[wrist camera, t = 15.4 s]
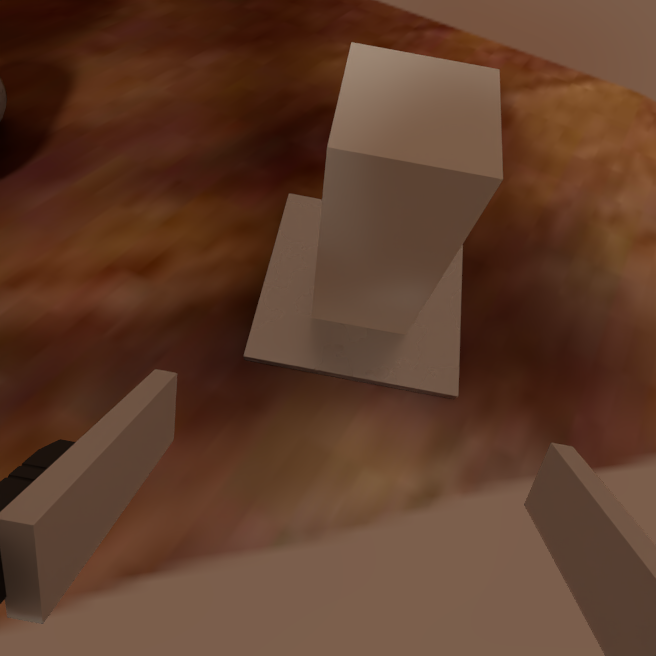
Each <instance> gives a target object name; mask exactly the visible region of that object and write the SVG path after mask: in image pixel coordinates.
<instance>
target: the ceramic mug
mask: <svg viewBox="0 0 656 656" xmlns="http://www.w3.org/2000/svg"><path fill="white" fill-rule="evenodd" d="M6 103H7V95H6V89H5V86H4V83H3V81H2V79H1V77H0V121H1V120H2V118H3V115H4V112H5V109H6Z"/></svg>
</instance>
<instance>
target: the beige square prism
mask: <svg viewBox="0 0 656 656" xmlns="http://www.w3.org/2000/svg"><path fill="white" fill-rule="evenodd" d="M502 180H503V161H502V132H501V103H500V75H499V69H494V68H489V67H483V66H478V65H472V64H467V63H462V62H456V61H451V60H445V59H440V58H434V57H429V56H423V55H418V54H413V53H407V52H402V51H396V50H391V49H385V48H380V47H375V46H369V45H364V44H358V43H353V42H351V46H350V51H349V55H348V59H347V64H346V68H345V72H344V77H343V81H342V85H341V90H340V94H339V98H338V103H337V107H336V111H335V115H334V120H333V124H332V128H331V133H330V137H329V141H328V146H327V154H326V165H325V176H324V186H323V197H322V208H321V218H320V229H319V240H318V250H317V261H316V272H315V282H314V293H313V304H312V314H311V318H316V319H321V320H327V321H332V322H338V323H343V324H349V325H354V326H360V327H365V328H370V329H376V330H381V331H387V332H392V333H398V334H403V335H406V334H407V332H408V331H409V329H410V328H411V326H412V324H413V323H414V321H415V320H416V318H417V316H418V315H419V313H420V312H421V310H422V308H423V307H424V305H425V304H426V302H427V300H428V299H429V297H430V296H431V294H432V292H433V291H434V289H435V288H436V286H437V284H438V283H439V281H440V280H441V278H442V276H443V275H444V273H445V272H446V270H447V268H448V267H449V265H450V264H451V262H452V260H453V259H454V257H455V256H456V254H457V252H458V251H459V249H460V248H461V246H462V244H463V243H464V241H465V240H466V238H467V236H468V235H469V233H470V232H471V230H472V228H473V227H474V225H475V224H476V222H477V220H478V219H479V217H480V216H481V214H482V212H483V211H484V209H485V208H486V206H487V204H488V203H489V201H490V200H491V198H492V196H493V195H494V193H495V192H496V190H497V188H498V187H499V185H500V184H501V182H502Z"/></svg>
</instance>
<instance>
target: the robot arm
mask: <svg viewBox="0 0 656 656" xmlns="http://www.w3.org/2000/svg"><path fill="white" fill-rule="evenodd" d="M176 387H177V373H174V372H168V371H163V370H158V369H155V370H154V371H153V372H152V373H151V374H150V375H148V376H147V377H146V378H145V379H144V380H143V381H142V382H141V383H140V384H139V385H138V386H136V387H135V388H134V389H133V390H132V391H131V392H130V393H129V394H128V395H127V396H126V397H125V398H123V399H122V400H121V401H120V402H119V403H118V404H117V405H116V406H115V407H114V408H113V409H112V410H110V411H109V412H108V413H107V414H106V415H105V416H104V417H103V418H102V419H101V420H100V421H99V422H97V423H96V424H95V425H94V426H93V427H92V428H91V429H90V430H89V431H88V432H87V433H85V434H84V435H83V436H82V437H81V438H80V439H79V440H78V441H77V442H71V441H66V440H58V441H56V442H54V443H52V444H50V445H47V446H45V447H43V448H41V449H39V450H38V451H37V452H35V453H34V454H33V455H32V456H31V457H29V458H28V459H27V460H26V461H25V462H23V463H22V466H19V467H17V468H16V469H15V470H14V471H13V472H11V473H10V474H9V476H8V478H4V479H3V480H2V481H1V482H0V604H1V603H2V601H3V600H4V599H5V603H6V610H7V617H8V618H13V619H19V620H24V621H30V622H35V623H41V624H43V623H44V622H45V620H46V619H47V617H48V616H49V615H50V613H51V612H52V610H53V609H54V608H55V606H56V605H57V603H58V602H59V600H60V599H61V598H62V596H63V595H64V593H65V592H66V591H67V589H68V588H69V586H70V585H71V584H72V582H73V581H74V579H75V578H76V577H77V575H78V574H79V572H80V571H81V570H82V568H83V567H84V565H85V564H86V562H87V561H88V560H89V558H90V557H91V555H92V554H93V553H94V551H95V550H96V548H97V547H98V546H99V544H100V543H101V541H102V540H103V539H104V537H105V536H106V534H107V533H108V531H109V530H110V529H111V527H112V526H113V524H114V523H115V522H116V520H117V519H118V517H119V516H120V515H121V513H122V512H123V510H124V509H125V508H126V506H127V505H128V503H129V502H130V501H131V499H132V498H133V496H134V495H135V493H136V492H137V491H138V489H139V488H140V486H141V485H142V484H143V482H144V481H145V479H146V478H147V477H148V475H149V474H150V472H151V471H152V470H153V468H154V467H155V465H156V464H157V463H158V461H159V460H160V458H161V457H162V455H163V454H164V453H165V451H166V450H167V448H168V447H169V446H170V444H171V443H172V441H173V440H174V424H175V406H176ZM524 505H525V507H526V509H527V511H528V513H529V515H530V516H531V518H532V520H533V522H534V524H535V526H536V528H537V529H538V531H539V533H540V535H541V537H542V539H543V541H544V542H545V544H546V546H547V548H548V550H549V552H550V554H551V556H552V558H553V559H554V561H555V563H556V565H557V567H558V569H559V571H560V572H561V574H562V576H563V578H564V580H565V582H566V583H567V586H568V587H569V589H570V591H571V593H572V595H573V597H574V599H575V600H576V602H577V604H578V606H579V608H580V610H581V611H582V614H583V615H584V617H585V619H586V621H587V623H588V625H589V627H590V628H591V630H592V632H593V634H594V636H595V638H596V639H597V641H598V643H599V645H600V647H601V649H602V651H603V653H604V655H605V656H656V545H655V544H654V542H653V541H652V540H651V539H650V538H649V537H648V535H647V534H646V533H645V532H644V531H643V529H642V528H641V527H640V526H639V525H638V524H637V522H636V521H635V520H634V519H633V517H632V516H631V515H630V514H629V513H628V512H627V510H626V509H625V508H624V507H623V506H622V504H621V503H620V502H619V501H618V500H617V498H616V497H615V496H614V495H613V494H612V493H611V492H610V490H609V489H608V488H607V487H606V485H605V484H604V483H603V482H602V481H601V479H600V478H599V477H598V476H597V475H596V474H595V472H594V471H593V470H592V469H591V468H590V466H589V465H588V464H587V463H586V462H585V460H584V459H583V458H582V457H581V456H580V455H579V453H578V452H577V451H576V450H575V449H574V447H573V446H567V445H562V444H556V443H551V444H550V446H549V448H548V451H547V453H546V455H545V457H544V460H543V462H542V464H541V467H540V469H539V471H538V474H537V476H536V478H535V481H534V483H533V485H532V488H531V490H530V492H529V495H528V497H527V499H526V502H525V504H524Z"/></svg>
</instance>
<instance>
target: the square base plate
mask: <svg viewBox="0 0 656 656" xmlns="http://www.w3.org/2000/svg"><path fill="white" fill-rule="evenodd" d="M321 208H322V199H317V198H312V197H306V196H301V195H296V194H290V193H289V195H288V198H287V202H286V206H285V209H284V213H283V216H282V220H281V224H280V227H279V231H278V234H277V238H276V241H275V245H274V249H273V252H272V256H271V259H270V263H269V266H268V270H267V274H266V277H265V281H264V284H263V288H262V291H261V295H260V299H259V302H258V306H257V309H256V313H255V316H254V320H253V324H252V327H251V331H250V334H249V338H248V341H247V345H246V349H245V352H244V360H248V361H253V362H258V363H264V364H269V365H274V366H280V367H285V368H290V369H296V370H301V371H306V372H311V373H317V374H322V375H327V376H333V377H338V378H343V379H349V380H354V381H359V382H365V383H370V384H375V385H381V386H386V387H391V388H397V389H402V390H407V391H413V392H418V393H423V394H429V395H434V396H439V397H445V398H450V399H456V398H457V397H458V394H459V360H460V326H461V291H462V257H463V244H462V246H461V248H460V249H459V251H458V252H457V254H456V256H455V257H454V259H453V260H452V262H451V264H450V265H449V267H448V268H447V270H446V272H445V273H444V275H443V276H442V278H441V280H440V281H439V283H438V284H437V286H436V288H435V289H434V291H433V292H432V294H431V296H430V297H429V299H428V300H427V302H426V304H425V305H424V307H423V308H422V310H421V312H420V313H419V315H418V316H417V318H416V320H415V321H414V323H413V324H412V326H411V328H410V329H409V331H408V332H407V334H406V335H403V334H398V333H392V332H387V331H381V330H376V329H370V328H365V327H360V326H354V325H349V324H343V323H338V322H332V321H327V320H321V319H316V318H311V314H312V304H313V293H314V282H315V272H316V261H317V250H318V240H319V229H320V218H321Z"/></svg>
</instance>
